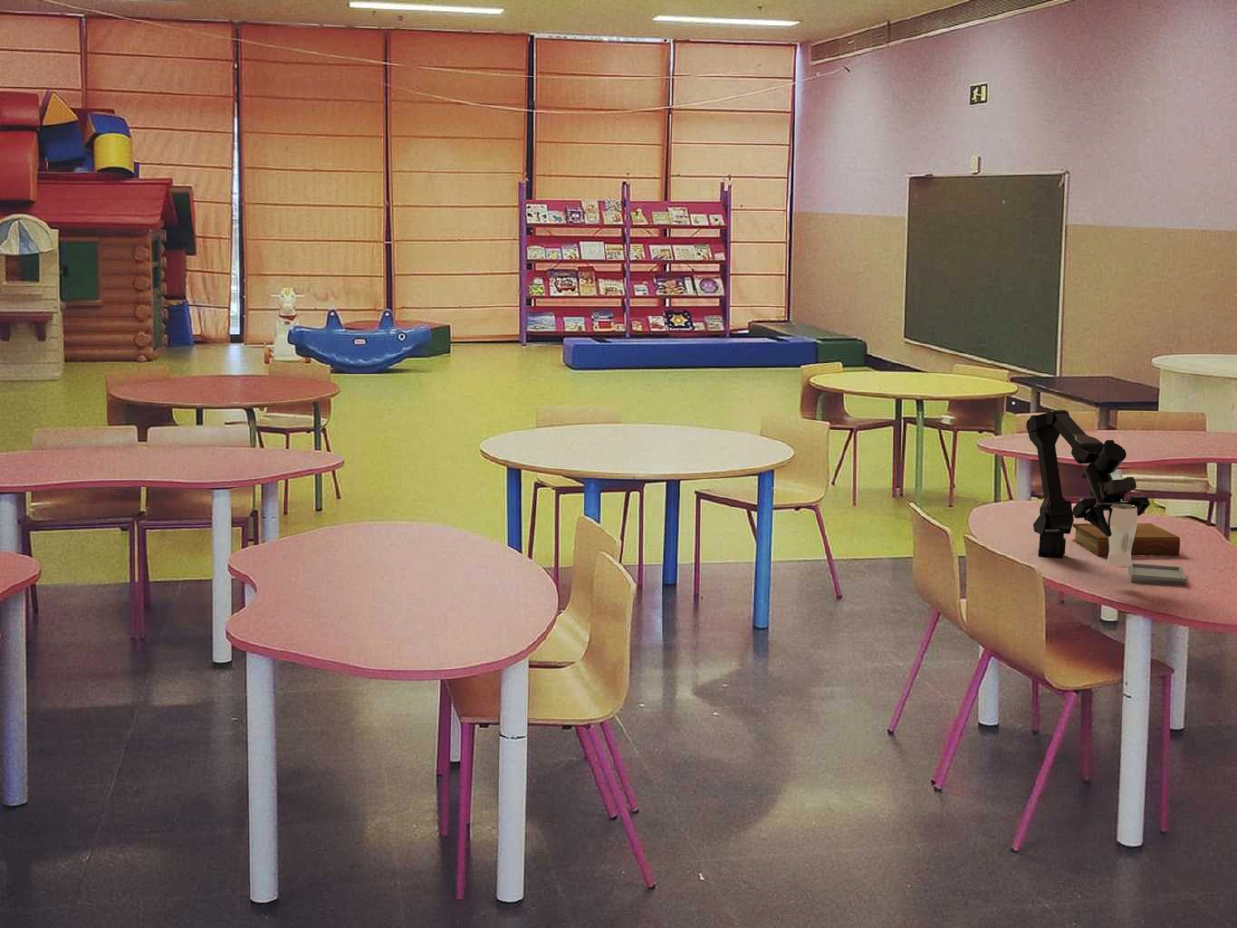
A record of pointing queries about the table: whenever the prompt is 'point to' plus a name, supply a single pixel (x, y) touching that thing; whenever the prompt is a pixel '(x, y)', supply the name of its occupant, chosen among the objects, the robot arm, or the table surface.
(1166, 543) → the diary
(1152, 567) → the grey tray
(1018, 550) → the table surface
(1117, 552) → the beer glass
